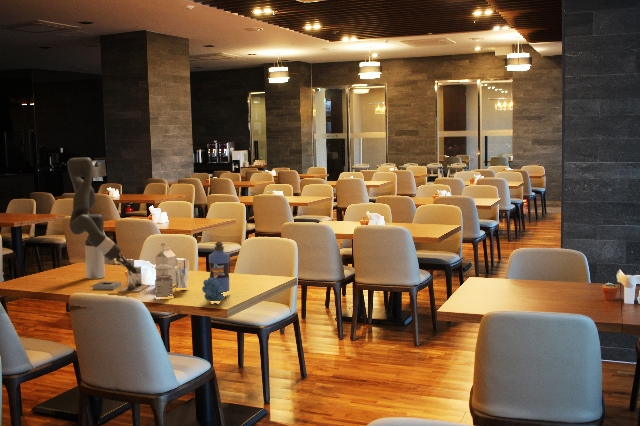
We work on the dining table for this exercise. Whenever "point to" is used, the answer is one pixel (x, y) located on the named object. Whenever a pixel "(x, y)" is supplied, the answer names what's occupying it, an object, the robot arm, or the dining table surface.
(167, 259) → the milk carton
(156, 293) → the french press
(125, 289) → the rack
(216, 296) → the grapes
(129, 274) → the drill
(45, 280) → the dining table surface
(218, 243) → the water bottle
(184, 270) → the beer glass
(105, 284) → the socket block
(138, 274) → the short bit
